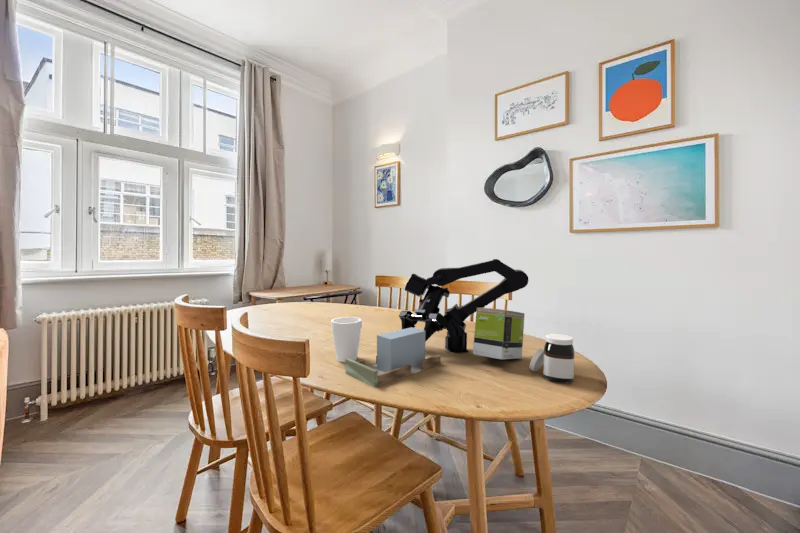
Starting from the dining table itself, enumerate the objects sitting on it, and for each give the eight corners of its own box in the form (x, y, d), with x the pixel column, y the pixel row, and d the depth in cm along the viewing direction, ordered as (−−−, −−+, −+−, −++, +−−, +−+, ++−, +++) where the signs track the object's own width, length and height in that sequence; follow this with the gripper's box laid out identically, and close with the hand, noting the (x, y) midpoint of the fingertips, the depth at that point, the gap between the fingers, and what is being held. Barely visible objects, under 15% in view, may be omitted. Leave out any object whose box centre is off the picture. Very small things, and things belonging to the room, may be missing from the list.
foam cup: (325, 363, 110) (325, 322, 109) (341, 354, 118) (341, 316, 117) (352, 367, 106) (352, 324, 105) (366, 358, 115) (366, 318, 114)
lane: (398, 351, 122) (398, 338, 121) (456, 371, 103) (456, 355, 103) (334, 369, 104) (334, 354, 104) (389, 396, 86) (389, 378, 86)
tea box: (493, 353, 120) (497, 310, 122) (522, 359, 113) (526, 313, 115) (471, 354, 109) (476, 305, 111) (502, 360, 102) (506, 309, 104)
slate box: (411, 358, 113) (411, 327, 112) (425, 363, 108) (425, 330, 108) (376, 369, 103) (376, 335, 102) (390, 374, 99) (390, 339, 98)
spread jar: (575, 387, 92) (577, 343, 91) (529, 381, 96) (530, 338, 95) (570, 371, 103) (572, 332, 103) (529, 366, 107) (530, 328, 106)
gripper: (464, 315, 120) (447, 357, 113) (425, 312, 134) (407, 349, 127) (446, 297, 114) (427, 339, 107) (407, 296, 128) (388, 333, 121)
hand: (412, 341), depth 116 cm, fingers open, 9 cm apart
